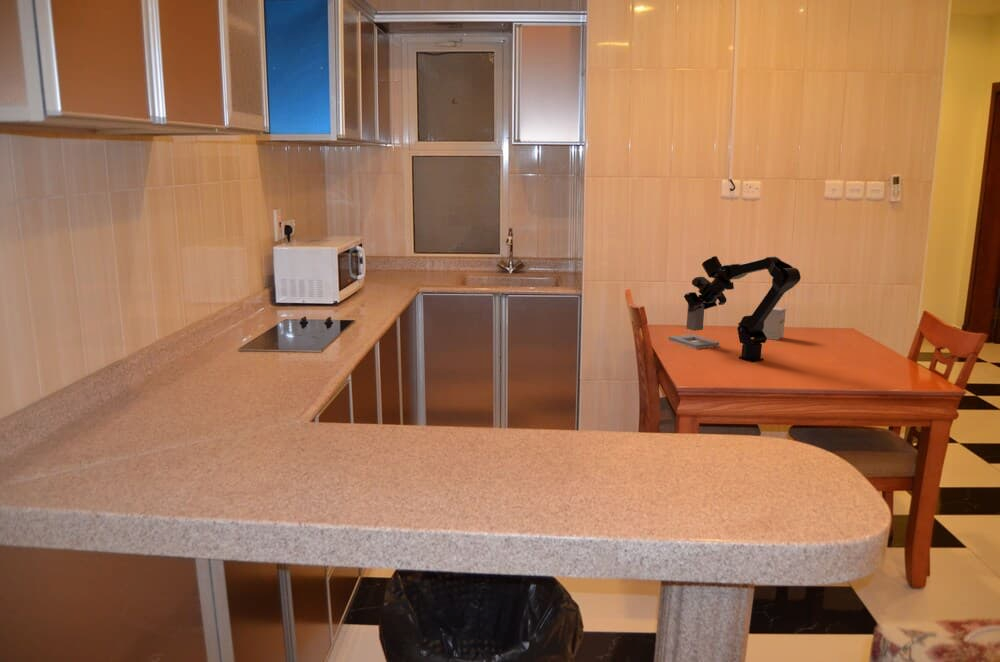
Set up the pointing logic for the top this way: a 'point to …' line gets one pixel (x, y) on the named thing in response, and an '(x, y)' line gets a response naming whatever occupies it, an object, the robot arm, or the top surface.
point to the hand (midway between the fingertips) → (693, 311)
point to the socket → (693, 341)
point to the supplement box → (775, 323)
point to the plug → (695, 319)
